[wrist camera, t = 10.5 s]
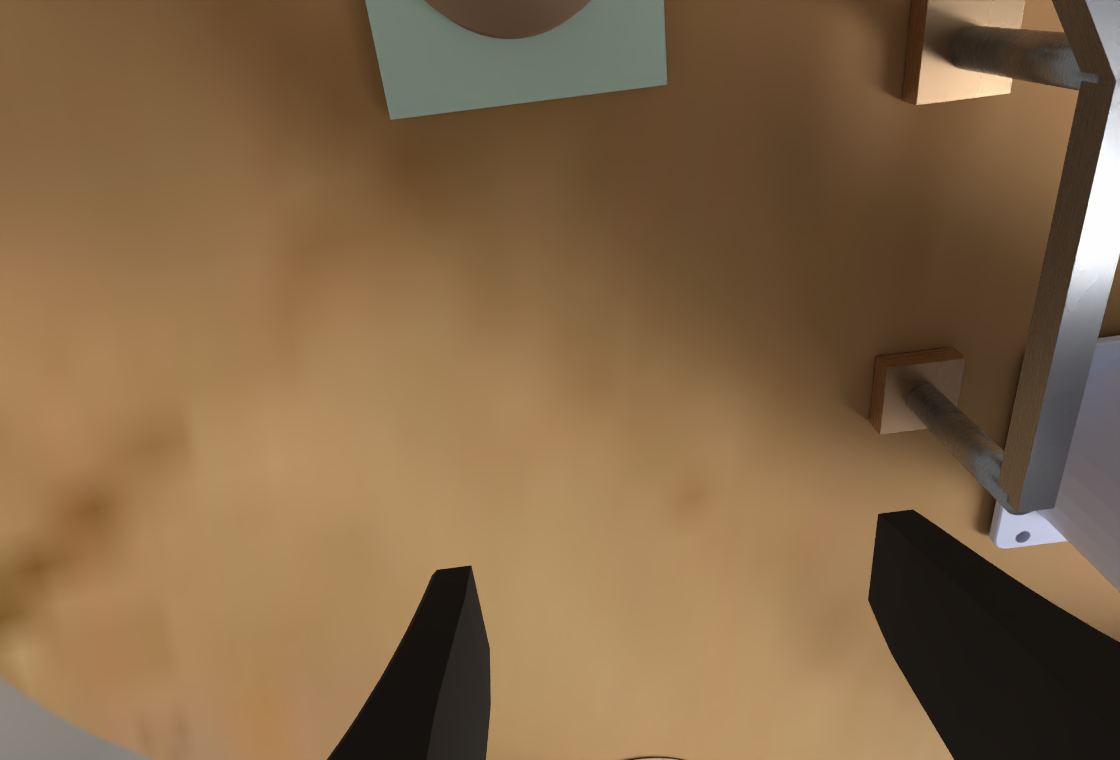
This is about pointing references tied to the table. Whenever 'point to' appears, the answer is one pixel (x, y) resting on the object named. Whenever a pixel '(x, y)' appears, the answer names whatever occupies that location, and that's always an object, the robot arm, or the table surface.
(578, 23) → the pad
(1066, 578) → the table surface
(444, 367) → the table surface
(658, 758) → the teacup and saucer
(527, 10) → the brown domed cylinder
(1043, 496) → the buzz wire
